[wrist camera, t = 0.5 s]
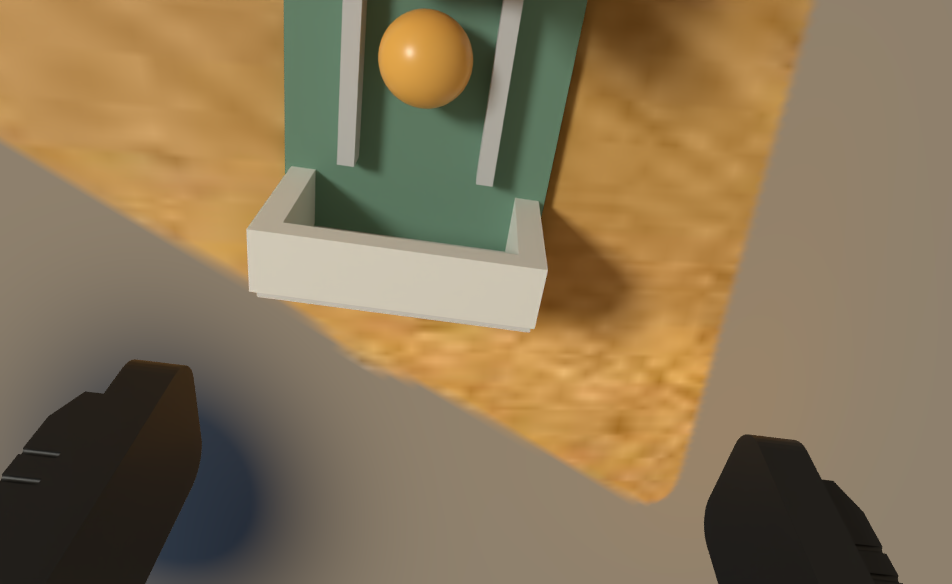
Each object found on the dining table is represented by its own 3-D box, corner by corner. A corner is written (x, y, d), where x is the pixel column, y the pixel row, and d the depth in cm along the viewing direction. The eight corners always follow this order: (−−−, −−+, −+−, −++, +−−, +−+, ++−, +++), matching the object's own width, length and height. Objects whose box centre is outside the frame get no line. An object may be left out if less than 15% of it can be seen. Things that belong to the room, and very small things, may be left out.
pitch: (285, -310, 24) (270, -324, 23) (637, -247, 25) (648, -256, 23) (288, 231, 36) (278, 249, 34) (529, 264, 36) (531, 283, 35)
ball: (388, -6, 29) (374, 10, 26) (480, 8, 29) (478, 26, 26) (382, 87, 31) (368, 113, 28) (468, 100, 31) (464, 127, 28)
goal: (291, 166, 33) (246, 229, 27) (538, 201, 34) (547, 270, 28) (291, 235, 35) (249, 309, 29) (524, 267, 36) (530, 345, 30)
